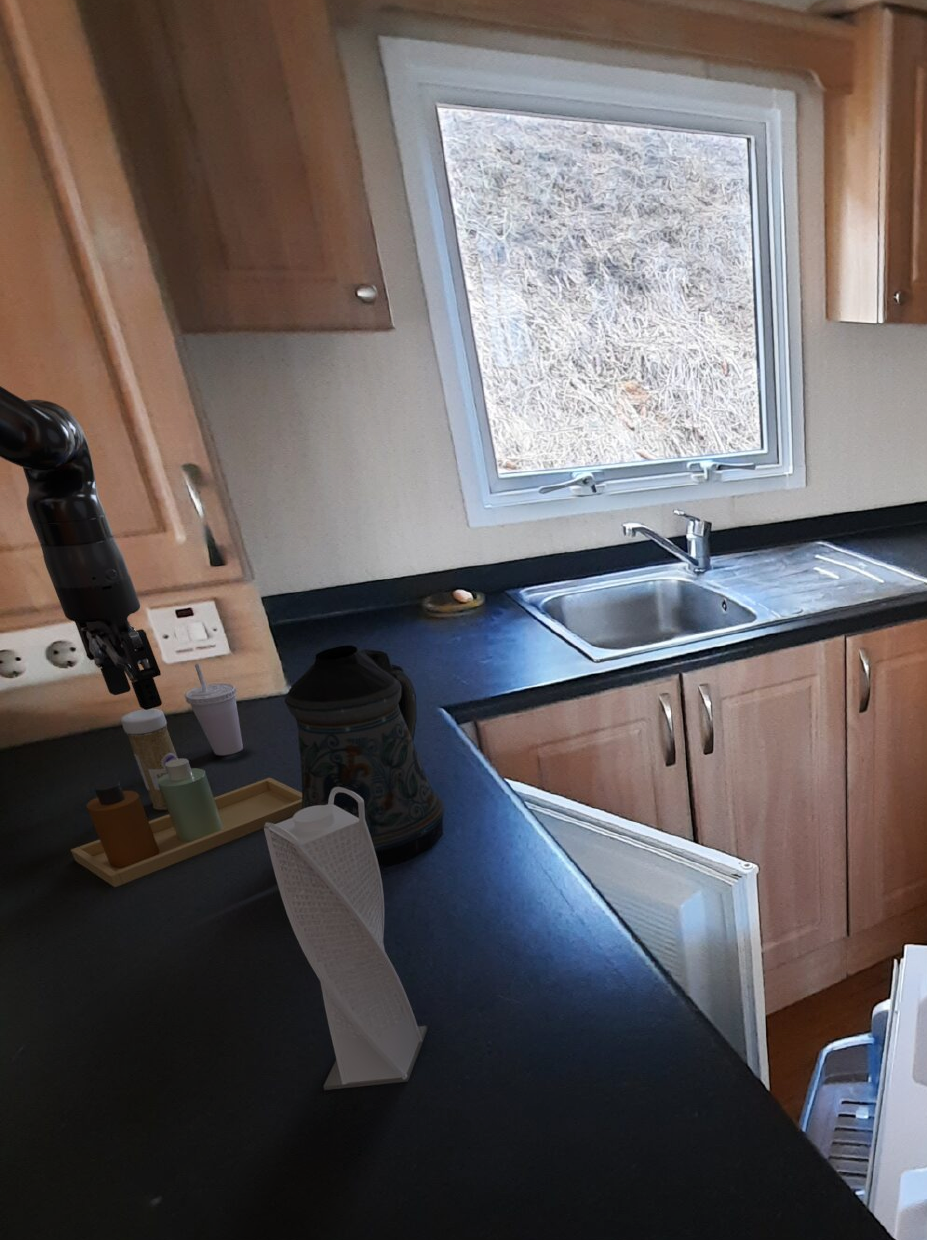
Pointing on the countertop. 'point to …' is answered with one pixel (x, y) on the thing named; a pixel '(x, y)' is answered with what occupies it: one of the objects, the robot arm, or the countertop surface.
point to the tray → (239, 818)
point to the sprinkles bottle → (150, 748)
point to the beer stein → (366, 749)
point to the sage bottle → (189, 801)
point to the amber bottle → (121, 825)
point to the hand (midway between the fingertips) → (136, 700)
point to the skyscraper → (346, 940)
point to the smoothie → (217, 714)
